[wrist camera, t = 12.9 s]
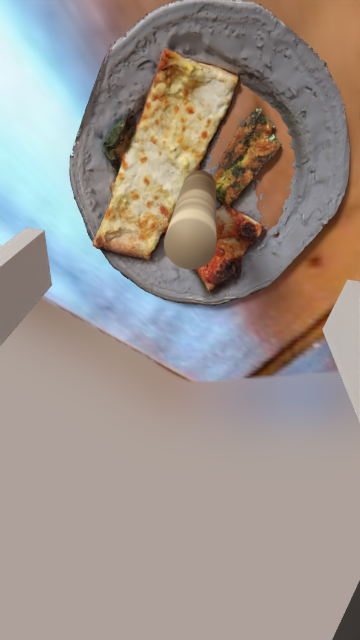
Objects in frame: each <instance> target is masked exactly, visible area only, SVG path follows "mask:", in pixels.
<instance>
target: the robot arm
mask: <svg viewBox="0 0 360 640" xmlns="http://www.w3.org/2000/svg"><path fill="white" fill-rule="evenodd" d="M51 286H52V282H51V275H50V268H49V261H48V253H47V246H46V239H45V232H44V230H38V229H32V228H26V229H24V230H23V231H22V232H20V233H19V234H18V235H16V236H15V237H14V238H12V239H11V240H9V241H8V242H7V243H5V244H4V245H3V246H1V247H0V346H1V345H2V343H3V342H4V341H5V340H6V339H7V338H8V336H9V335H10V334H11V333H12V332H13V330H14V329H15V328H16V327H17V326H18V325H19V323H20V322H21V321H22V320H23V319H24V318H25V316H26V315H27V314H28V313H29V312H30V310H31V309H32V308H33V307H34V306H35V305H36V303H37V302H38V301H39V300H40V299H41V298H42V296H43V295H44V294H45V293H46V292H47V290H48V289H49V288H50V287H51ZM323 332H324V335H325V337H326V340H327V342H328V345H329V347H330V350H331V352H332V355H333V357H334V360H335V363H336V365H337V368H338V370H339V373H340V375H341V378H342V380H343V383H344V385H345V388H346V390H347V393H348V395H349V398H350V400H351V403H352V405H353V408H354V410H355V413H356V415H357V418H358V420H359V423H360V282H359V281H353V280H347V282H346V284H345V286H344V288H343V290H342V292H341V294H340V296H339V298H338V300H337V302H336V304H335V306H334V308H333V310H332V312H331V314H330V316H329V318H328V320H327V322H326V324H325V326H324V328H323ZM333 640H360V581H359V583H358V585H357V588H356V590H355V592H354V594H353V596H352V598H351V601H350V603H349V605H348V607H347V609H346V611H345V614H344V616H343V618H342V620H341V622H340V624H339V626H338V629H337V631H336V633H335V635H334V637H333Z"/></svg>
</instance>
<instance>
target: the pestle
mask: <svg viewBox="0 0 360 640" xmlns="http://www.w3.org/2000/svg"><path fill="white" fill-rule="evenodd" d="M164 249H165V252H166V255H167V257H168V258H169V260H170V261H171V262H172V263H174V264H175V265H176V266H178V267H180V268H183V269H198V268H201V267H203V266H205V265H206V264H208V263H209V262H210V261H211V260H212V258H213V257H214V254H215V252H216V183H215V180H214V178H213V177H212V175H211V174H209V173H208V172H206V171H203V170H197V171H193V172H191V173H190V174H189V175H188V176H187V177H186V178H185V180H184V183H183V186H182V189H181V191H180V194H179V197H178V200H177V203H176V206H175V209H174V212H173V215H172V218H171V221H170V224H169V227H168V230H167V233H166V236H165V239H164Z"/></svg>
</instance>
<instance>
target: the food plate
mask: <svg viewBox="0 0 360 640" xmlns="http://www.w3.org/2000/svg"><path fill="white" fill-rule="evenodd" d="M109 48H110V47H109ZM195 54H197V55H195ZM106 55H107V54H106ZM105 57H106V56H105ZM104 60H105V58H104ZM104 60H103V63H104ZM103 63H102V66H103V67H102V66H101V68H102V69H101V68H100V70H99V73H100V75H99V73H98V76H99V77H98V76H97V78H98V80H97V79H96V82H97V83H96V82H95V84H96V85H95V84H94V87H95V88H94V87H93V90H94V91H93V90H92V93H91V95H90V98H89V101H88V104H87V107H86V110H85V113H84V116H83V119H82V122H81V125H80V128H79V130H80V132H79V131H78V133H79V134H77V135H78V136H77V137H76V140H75V143H76V144H75V143H74V144H75V146H73V149H72V150H73V151H74V153H72V154H73V156H71V155H70V170H69V172H70V173H69V174H70V181H71V186H72V190H73V194H74V199H75V200H76V203H77V206H78V208H79V210H80V213H81V215H82V217H83V220H84V223H85V226H86V228H87V233H88V236H89V237H90V239H91V240H92V241H93V246H94V247H96V248H97V249H100V250H101V251H102V253H103V254H104V255H105V257H106V259H107V260H108V261H109V263H110V264H111V265H112V266H113V268H115V269H116V270H118V271H120V273H121V274H122V275H123V276H124V277H126V278H127V279H130V281H132V282H134V283H135V284H136V285H137V286H138V287H140V288H141V289H143V290H144V291H146V292H148V293H151V294H153V295H155V296H158V297H160V298H162V299H164V300H169V301H174V302H178V303H191V304H201V305H212V306H215V305H219V304H223V303H226V302H228V301H231V300H233V299H238V298H243V297H246V296H248V295H251V294H253V293H255V292H257V291H260V290H261V289H263V288H265V287H268V286H269V285H270V284H271V283H272V282H273V281H274V280H276V278H278V276H279V275H280V274H281V273H282V272H283V271H284V270H285V269H286V268H287V266H288V265H290V263H291V262H292V261H293V260H294V259H295V257H297V256H298V255H299V254H300V253H301V252H302V251H303V249H304V248H305V246H307V245H308V244H309V243H310V241H312V240H313V238H315V237H316V235H317V234H318V233H319V231H320V230H321V229H322V225H324V224H325V223H326V224H327V223H328V220H329V219H331V218H332V217H333V216H334V215H335V214H336V211H337V210H338V207H339V205H340V203H341V200H342V198H343V196H344V195H345V189H346V186H347V184H348V177H349V159H350V150H349V149H350V148H349V147H350V145H349V137H348V132H347V124H346V123H347V121H346V114H345V112H344V110H345V104H343V102H342V101H343V99H342V98H341V96H340V91H339V90H338V88H337V86H336V83H335V82H334V79H333V78H332V76H331V75H330V73H329V70H328V68H327V65H326V64H327V63H325V62H324V63H323V61H322V60H320V59H319V56H318V54H317V53H315V52H314V51H313V49H312V48H311V47H310V46H309V45H308V44H307V43H306V42H304V41H303V39H301V38H300V37H298V35H297V34H296V33H294V32H293V31H292V30H291V29H290V28H289V27H287V26H286V25H285V24H284V23H283V22H282V21H281V20H279V19H278V18H277V17H276V16H274V15H272V13H271V12H270V11H268V10H267V9H266V7H264V6H262V5H261V4H259V3H257V2H252V1H247V0H241V1H240V0H238V1H237V0H182V1H181V0H180V1H174V2H173V4H171V3H170V4H169V3H168V4H166V5H165V6H164V5H163V6H162V7H160V8H158V9H156V11H155V10H154V11H153V12H151V13H149V14H146V16H145V18H140V20H139V21H138V22H137V23H136V24H135V26H133V28H131V29H130V30H129V31H128V32H127V33H126V34H125V35H124V36H123V37H121V38H120V39H118V40H117V41H116V42H114V45H113V46H112V47H111V50H109V55H108V57H107V59H106V60H105V63H104V64H103ZM100 71H101V72H100ZM238 80H239V81H241V83H242V84H243V85H245V86H246V87H248V88H249V89H250V90H252V91H253V92H254V93H256V94H257V95H258V96H260V97H261V98H262V99H263V100H264V101H266V102H267V103H268V104H269V105H270V106H271V107H272V108H275V109H276V110H277V111H278V112H279V113H280V115H281V118H282V120H283V122H284V123H285V125H286V126H287V127H288V128H289V129H288V131H287V132H288V134H289V135H290V136H291V137H292V141H291V143H290V144H291V148H293V149H294V152H295V159H294V161H295V162H294V164H293V165H292V168H294V167H295V170H294V176H293V179H292V180H291V181H290V182H291V183H292V184H291V186H290V188H291V194H290V195H289V198H288V200H287V199H286V200H285V204H284V206H283V207H282V209H284V212H283V214H282V216H281V217H280V219H279V221H278V224H277V225H275V226H274V227H273V228H272V229H270V230H269V231H268V232H267V234H266V236H264V237H263V238H262V240H258V239H259V238H260V237H261V236H260V235H261V233H262V231H263V230H264V229H268V227H265V228H263V224H262V223H260V218H261V217H263V216H262V215H260V212H259V211H258V210H257V208H256V203H257V202H258V199H257V196H256V194H255V192H256V191H254V190H253V189H254V188H255V183H257V184H258V183H259V182H260V180H259V179H257V180H256V181H253V180H252V178H253V175H254V174H256V175H257V174H258V172H259V171H260V169H261V168H262V167H263V166H264V164H265V163H267V162H268V161H269V160H270V159H271V157H273V156H274V155H275V154H276V152H277V151H278V150H279V149H280V148H281V147H282V146H281V145H282V143H280V144H279V142H278V140H277V138H276V136H275V135H274V131H275V128H276V126H275V125H274V124H273V122H272V121H271V120H270V118H268V116H266V117H264V116H262V114H261V110H262V108H257V109H256V110H255V111H254V112H253V113H251V115H250V116H249V117H247V118H245V119H244V120H243V121H241V124H240V126H239V127H238V128H237V129H238V132H237V133H236V134H235V135H234V140H233V141H232V142H230V144H229V146H228V148H227V150H226V151H225V152H224V154H223V155H222V158H221V162H219V164H218V165H216V166H214V167H213V168H212V169H209V168H208V166H209V164H210V160H211V159H212V158H213V157H212V155H211V154H210V153H209V152H210V149H211V148H214V146H215V144H216V142H217V139H218V138H219V130H221V127H222V125H223V124H224V123H225V117H226V115H227V114H228V111H229V108H230V106H231V103H232V97H233V93H234V90H235V87H236V86H237V85H238V84H237V82H238ZM219 125H220V128H219ZM207 148H209V149H207ZM213 162H214V161H213ZM203 166H207V170H206V169H203ZM216 167H217V168H216ZM200 169H201V170H203V171H206V172H208V173H209V174H211V170H213V175H212V177H213V178H214V180H215V183H216V252H215V254H214V257H213V258H212V260H211V261H210V262H209V263H208V264H206V265H205V266H203V267H201V268H198V269H183V268H180V267H178V266H176V265H175V264H174V263H172V262H171V261H170V260H169V258H168V257H167V255H166V252H165V249H164V239H165V236H166V233H167V230H168V227H169V224H170V221H171V218H172V215H173V212H174V209H175V206H176V203H177V200H178V197H179V194H180V191H181V189H182V186H183V183H184V180H185V178H186V177H187V176H188V175H189V174H190V173H191V172H193V171H197V170H200ZM208 169H209V170H208ZM287 189H288V188H287ZM241 193H243V194H242V195H241ZM262 194H264V193H262ZM262 194H261V195H260V196H262ZM249 195H250V196H249ZM261 199H262V197H260V200H261ZM264 208H265V207H264ZM280 209H281V208H280ZM278 213H280V212H278ZM254 215H255V218H254ZM268 218H269V217H268ZM267 226H268V223H267ZM278 232H279V233H280V235H279V237H278V238H273V237H274V236H275V235H276V234H277V233H278ZM252 242H253V244H251V243H252Z"/></svg>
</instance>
